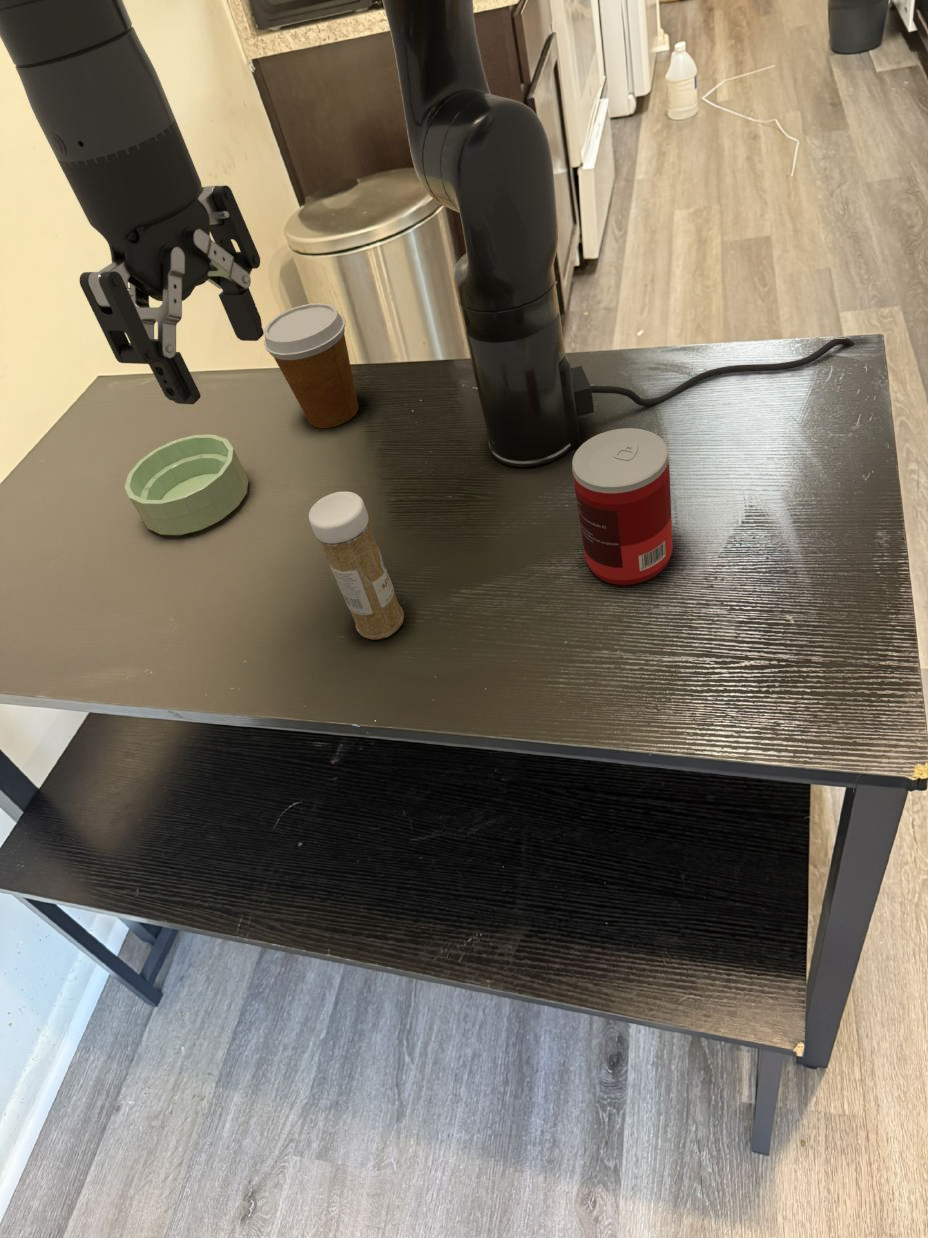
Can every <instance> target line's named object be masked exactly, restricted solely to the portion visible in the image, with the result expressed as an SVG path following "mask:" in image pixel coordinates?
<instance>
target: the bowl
mask: <svg viewBox="0 0 928 1238" xmlns="http://www.w3.org/2000/svg"><path fill="white" fill-rule="evenodd" d="M241 463H242V462H241V461H240V459H239V457H238V455H237V452H236V450H235V448H234V446H233V445H232V444H231V443H230V441H229V440H228V439H227V438H225V437H222V436H219V435H217V434H194V435H190V436H185V437H182V438H178V439H174V440H172V441H170V442H167V443H165V444H164V445H162V446H159V447H157V448H155V449H154V450H152V451H151V452H149V453H148V454H147V455H145V456H144V457H142V458H141V459H140V460H139V461H138V462H137V463H136V464H135V465H134V466H133V467H132V469H131V470H130V471H129V473H128V474H127V475H126V479H125V483H124V491H125V492H126V494H127V496H128V498H129V500H130V503H132V505H133V506H134V509H135V510H136V511H137V513H138V516H140V519H141V520H142V521H143V523H144V525H145V526H146V528H147V529H148V530H151V531H152V532H154V533H155V534H159V535H161V536H182V535H187V534H190V533H195V532H199V531H202V530H204V529H207V528H209V527H211V526H213V525H215V524H217V523H219V522H220V521H222V520H223V519H225V518H226V517H227V516H229V514H231V513H232V512H233V511H234V510H236V509H237V508H238V507H239V506H240V505H241V503H242V502H243V500H244V498H245V496H246V495H247V494H248V487H249V477H248V475H247V474H246V470H245V469H244V468H243V465H242V464H241Z"/></svg>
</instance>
